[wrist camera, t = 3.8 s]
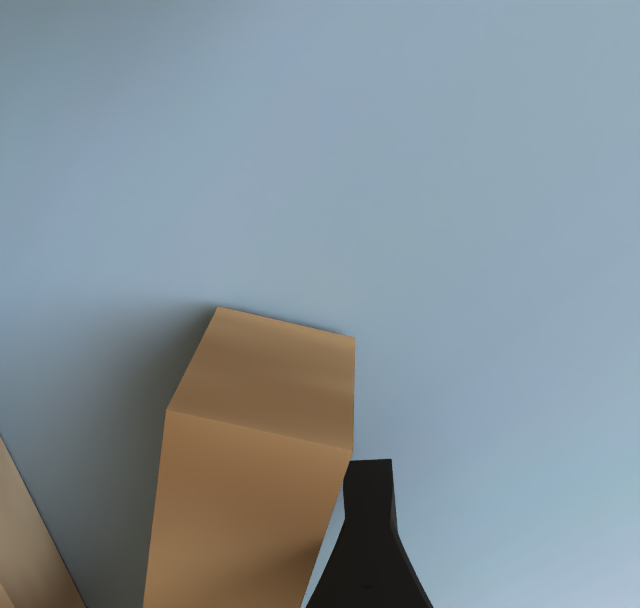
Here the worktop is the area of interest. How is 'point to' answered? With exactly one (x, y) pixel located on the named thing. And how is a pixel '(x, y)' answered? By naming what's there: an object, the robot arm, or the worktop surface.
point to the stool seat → (28, 550)
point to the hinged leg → (250, 464)
